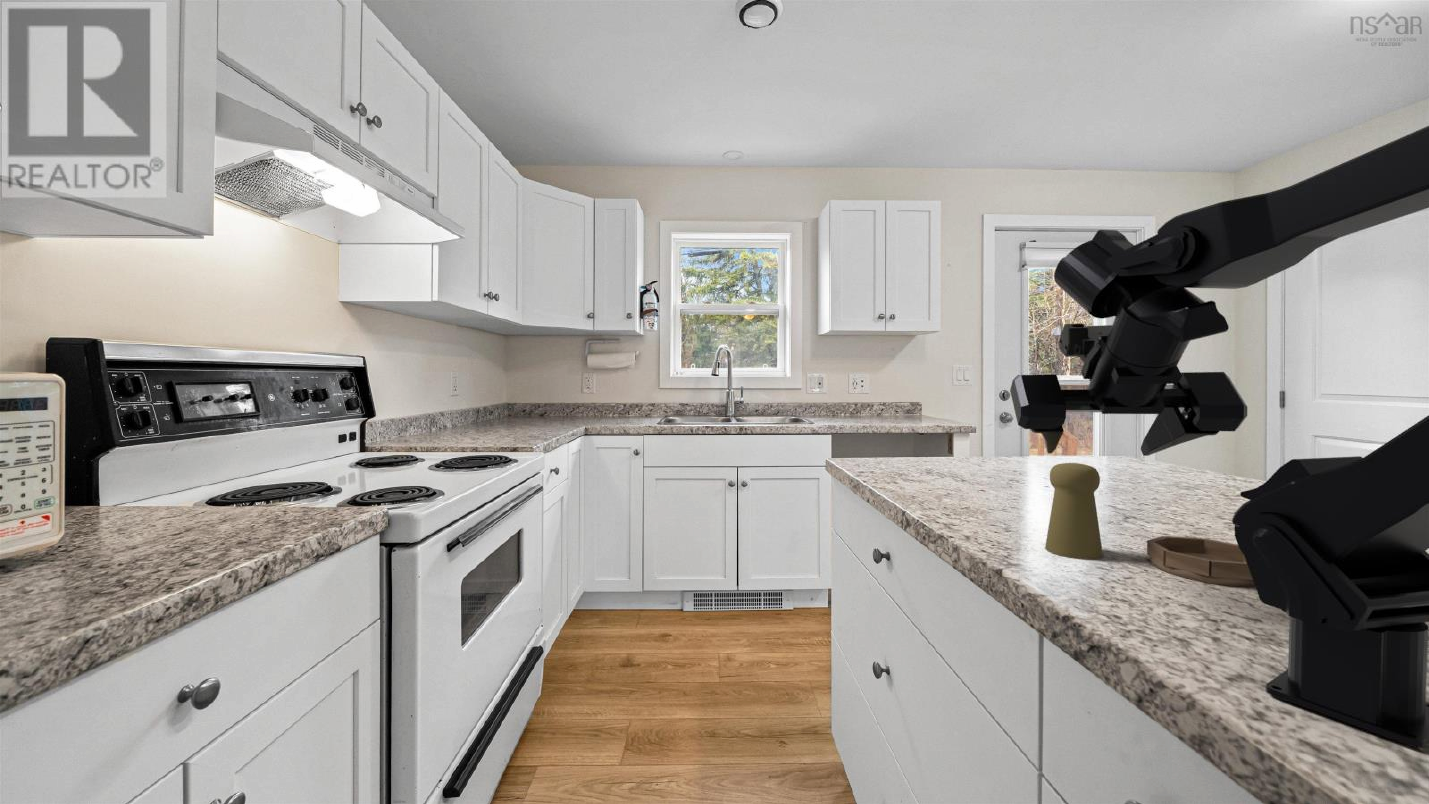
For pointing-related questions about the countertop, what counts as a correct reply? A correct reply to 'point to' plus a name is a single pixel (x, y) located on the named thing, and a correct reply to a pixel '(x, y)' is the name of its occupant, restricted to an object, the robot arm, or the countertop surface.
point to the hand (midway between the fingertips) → (1095, 451)
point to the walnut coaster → (1200, 560)
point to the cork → (1074, 512)
